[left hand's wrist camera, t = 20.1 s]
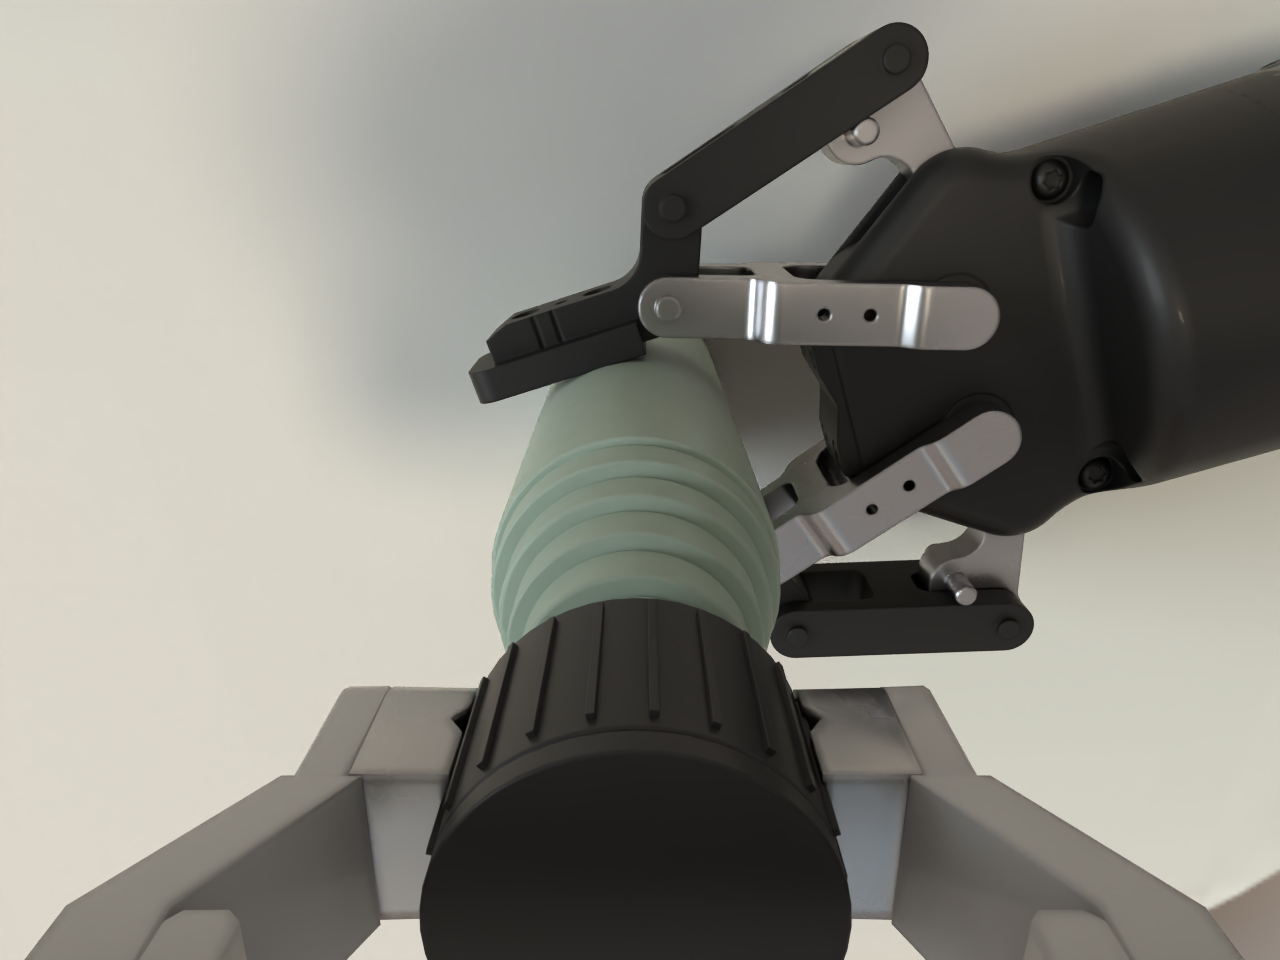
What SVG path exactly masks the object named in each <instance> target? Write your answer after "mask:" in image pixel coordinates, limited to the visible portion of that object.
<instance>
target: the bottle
mask: <svg viewBox="0 0 1280 960" xmlns="http://www.w3.org/2000/svg"><path fill="white" fill-rule="evenodd" d="M780 595H781V594H780V553H779V547H778V541H777V537H776V533H775V530H774V527H773V524H772V521H771V518H770V515H769V513H768V510H767V507H766V505H765V502H764V499H763V497H762V494H761V491H760V488H759V486H758V483H757V480H756V478H755V475H754V472H753V469H752V467H751V464H750V461H749V459H748V456H747V453H746V450H745V448H744V445H743V442H742V440H741V437H740V434H739V431H738V429H737V426H736V423H735V421H734V418H733V415H732V413H731V410H730V407H729V404H728V402H727V399H726V396H725V394H724V391H723V388H722V385H721V383H720V380H719V377H718V375H717V372H716V369H715V366H714V364H713V361H712V358H711V356H710V353H709V351H708V349H707V347H706V345H705V343H704V341H703V340H702V339H694V338H662V337H658V338H655V339H652V340H649V341H646V355H643V356H640V357H637V358H633V359H630V360H627V361H624V362H621V363H617V364H614V365H609V366H605V367H602V368H599V369H596V370H593V371H591V372H589V373H586V374H582V375H579V376H576V377H573V378H570V379H566V380H563V381H560V382H557V383H554V384H551V387H550V389H549V392H548V395H547V397H546V400H545V403H544V405H543V408H542V411H541V413H540V416H539V419H538V421H537V424H536V427H535V430H534V432H533V435H532V438H531V440H530V443H529V446H528V448H527V451H526V454H525V456H524V459H523V462H522V464H521V467H520V470H519V473H518V475H517V478H516V481H515V483H514V486H513V489H512V491H511V494H510V497H509V499H508V502H507V505H506V507H505V510H504V513H503V515H502V518H501V521H500V524H499V527H498V530H497V533H496V537H495V541H494V547H493V554H492V592H491V596H492V604H493V611H494V615H495V619H496V622H497V626H498V629H499V631H500V634H501V638H502V641H503V645H504V648H505V652H507V649H508V646H509V645H510V644H511V643H512V642H514V643H516V642H517V641H518V640H519V639H521V638H522V637H523V636H524V635H525V634H527V633H528V632H529V631H531V630H532V629H534V628H535V627H537V626H539V625H540V624H542V623H543V622H545V621H547V620H548V619H549V618H551V617H553V616H557V615H559V614H561V613H564V612H566V611H568V610H571V609H574V608H577V607H580V606H583V605H587V604H590V603H595V602H600V601H605V600H611V599H623V598H650V599H661V600H667V601H673V602H679V603H683V604H686V605H689V606H693V607H696V608H700V609H702V610H705V611H707V612H709V613H712V614H714V615H716V616H719V617H721V618H723V619H724V620H726V621H728V622H729V623H731V624H733V625H734V626H736V627H738V628H740V629H741V630H742V631H743V630H745V631H746V632H748V633H749V634H750V637H751V638H753V639H754V640H755V641H756V642H758V644H759V645H760V646H761V647H762V648H763V649H764V650H765V651H767V648H768V644H769V641H770V637H771V633H772V631H773V629H774V625H775V622H776V618H777V615H778V610H779V603H780Z"/></svg>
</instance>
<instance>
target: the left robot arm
mask: <svg viewBox="0 0 1280 960" xmlns="http://www.w3.org/2000/svg"><path fill="white" fill-rule="evenodd" d="M477 691H478V688H435V687H393V688H391V687H389V686H361V687H349V688H346V689H344V690H343V691H342V692H341V694H340V695H339V697H338V699H337V701H336V702H335V704H334V706H333V708H332V710H331V711H330V713H329V715H328V717H327V719H326V720H325V722H324V724H323V726H322V727H321V729H320V731H319V733H318V735H317V736H316V738H315V740H314V742H313V744H312V745H311V747H310V749H309V751H308V752H307V754H306V756H305V758H304V760H303V761H302V763H301V765H300V767H299V769H298V770H297V772H296V774H295V776H280V777H278V778H277V779H275V780H273V781H272V782H270V783H268V784H267V785H265V786H263V787H262V788H260V789H258V790H257V791H255V792H253V793H252V794H250V795H248V796H247V797H245V798H243V799H242V800H240V801H239V802H237V803H235V804H234V805H232V806H230V807H229V808H227V809H225V810H224V811H222V812H220V813H219V814H217V815H215V816H214V817H212V818H210V819H209V820H207V821H205V822H204V823H202V824H200V825H199V826H197V827H196V828H194V829H192V830H191V831H189V832H187V833H186V834H184V835H182V836H181V837H179V838H177V839H176V840H174V841H172V842H171V843H169V844H167V845H166V846H164V847H162V848H161V849H159V850H157V851H156V852H154V853H153V854H151V855H149V856H148V857H146V858H144V859H143V860H141V861H139V862H138V863H136V864H134V865H133V866H131V867H129V868H128V869H126V870H124V871H123V872H121V873H119V874H118V875H116V876H114V877H113V878H111V879H110V880H108V881H106V882H105V883H103V884H101V885H100V886H98V887H96V888H95V889H93V890H91V891H90V892H88V893H86V894H85V895H83V896H81V897H80V898H78V899H76V900H75V901H73V902H72V903H70V904H68V905H67V906H65V908H64V909H63V910H62V912H61V913H60V914H59V916H58V917H57V918H56V919H55V921H54V922H53V923H52V925H51V926H50V927H49V929H48V930H47V931H46V932H45V934H44V935H43V936H42V938H41V939H40V940H39V942H38V943H37V944H36V945H35V947H34V948H33V949H32V951H31V952H30V953H29V955H28V956H27V957H26V959H25V960H347V959H348V958H349V957H350V956H351V955H352V953H353V952H354V951H355V950H356V949H357V948H358V947H359V946H360V945H361V944H362V943H363V942H364V941H365V940H366V939H367V938H368V937H369V936H370V935H371V934H372V933H373V932H374V931H375V930H376V929H377V928H378V926H379V925H380V920H390V919H420V914H419V907H420V899H421V892H422V886H423V882H424V879H425V876H426V872H427V869H428V866H429V862H430V859H431V855H426V849H427V845H428V842H429V839H430V836H431V832H432V829H433V826H434V823H435V819H436V816H437V813H438V810H439V806H440V803H444V800H445V797H446V793H447V790H448V787H449V783H450V780H451V777H452V774H453V770H454V767H455V764H456V760H457V757H458V754H459V750H460V747H461V744H462V741H463V737H464V734H465V731H466V727H467V724H468V721H469V717H470V714H471V711H472V708H473V704H474V701H475V698H476V694H477ZM793 695H794V698H795V701H798V705H799V708H800V712H801V716H802V717H804V718H806V719H807V721H808V724H809V727H810V731H811V732H810V742H809V743H810V747H811V750H812V753H813V757H814V760H815V763H816V767H817V770H818V773H819V777H820V780H821V783H822V785H827V788H828V791H829V795H830V798H831V801H832V805H833V808H834V812H835V815H836V818H837V822H838V825H839V828H840V832H841V835H839V836H836V837H837V841H838V844H839V847H840V851H841V854H842V858H843V861H844V865H845V868H846V872H847V875H848V886H849V892H850V898H851V904H852V919H882V920H892V925H893V926H894V927H895V928H896V929H897V930H898V931H899V932H900V933H901V934H902V935H903V936H904V937H905V938H906V939H907V940H908V941H909V942H910V944H911V945H912V946H913V947H914V948H915V949H916V950H917V951H918V952H919V953H920V954H921V955H922V956H923V957H924V958H925V959H926V960H1244V958H1243V957H1242V956H1241V954H1240V953H1239V952H1238V950H1237V949H1236V948H1235V946H1234V945H1233V944H1232V942H1231V941H1230V940H1229V938H1228V937H1227V936H1226V934H1225V933H1224V932H1223V930H1222V929H1221V928H1220V926H1219V925H1218V924H1217V922H1216V921H1215V919H1214V918H1213V917H1212V915H1211V914H1210V913H1209V911H1208V910H1207V909H1206V907H1204V906H1202V905H1201V904H1199V903H1197V902H1196V901H1194V900H1193V899H1191V898H1189V897H1188V896H1186V895H1184V894H1183V893H1181V892H1179V891H1178V890H1176V889H1175V888H1173V887H1171V886H1170V885H1168V884H1166V883H1165V882H1163V881H1162V880H1160V879H1158V878H1157V877H1155V876H1153V875H1152V874H1150V873H1148V872H1147V871H1145V870H1144V869H1142V868H1140V867H1139V866H1137V865H1135V864H1134V863H1132V862H1131V861H1129V860H1127V859H1126V858H1124V857H1122V856H1121V855H1119V854H1117V853H1116V852H1114V851H1113V850H1111V849H1109V848H1108V847H1106V846H1104V845H1103V844H1101V843H1100V842H1098V841H1096V840H1095V839H1093V838H1091V837H1090V836H1088V835H1086V834H1085V833H1083V832H1082V831H1080V830H1078V829H1077V828H1075V827H1073V826H1072V825H1070V824H1068V823H1067V822H1065V821H1064V820H1062V819H1060V818H1059V817H1057V816H1055V815H1054V814H1052V813H1051V812H1049V811H1047V810H1046V809H1044V808H1042V807H1041V806H1039V805H1037V804H1036V803H1034V802H1033V801H1031V800H1029V799H1028V798H1026V797H1024V796H1023V795H1021V794H1020V793H1018V792H1016V791H1015V790H1013V789H1011V788H1010V787H1008V786H1006V785H1005V784H1003V783H1002V782H1000V781H998V780H997V779H995V778H993V777H992V776H977V775H976V773H975V771H974V769H973V767H972V765H971V764H970V762H969V760H968V758H967V756H966V755H965V753H964V751H963V749H962V747H961V746H960V744H959V742H958V740H957V738H956V737H955V735H954V733H953V731H952V729H951V727H950V726H949V724H948V722H947V720H946V718H945V717H944V715H943V713H942V711H941V709H940V708H939V706H938V704H937V702H936V700H935V699H934V697H933V695H932V693H931V691H930V690H929V689H927V688H926V687H924V686H903V687H880V688H851V689H805V690H793Z"/></svg>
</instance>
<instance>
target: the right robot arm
mask: <svg viewBox="0 0 1280 960" xmlns="http://www.w3.org/2000/svg"><path fill="white" fill-rule="evenodd" d="M928 59H929V52H928V46H927V43H926V40H925V38H924V36H923V35H922V34H921V32H920V31H919V30H918V29H917V28H915V27H914V26H912V25H910V24H907V23H902V22H895V23H890V24H887V25H885V26H883V27H881V28H879V29H877V30H875V31H873V32H871V33H870V34H868V35H866V36H864V37H862V38H860V39H858V40H856V41H854V42H853V43H851V44H849V45H848V46H846V47H845V48H843V49H842V50H841V51H839V52H838V53H836V54H835V55H833V56H832V57H830V58H829V59H827V60H826V61H824V62H823V63H821V64H820V65H819V66H817V67H816V68H814V69H813V70H811V71H810V72H808V73H807V74H805V75H804V76H802V77H801V78H799V79H798V80H797V81H795V82H794V83H792V84H791V85H789V86H788V87H786V88H785V89H783V90H782V91H780V92H779V93H777V94H776V95H775V96H773V97H772V98H770V99H769V100H767V101H766V102H764V103H763V104H761V105H760V106H758V107H757V108H755V109H754V110H753V111H751V112H750V113H748V114H747V115H745V116H744V117H742V118H741V119H739V120H738V121H736V122H735V123H733V124H732V125H730V126H729V127H728V128H726V129H725V130H723V131H722V132H720V133H719V134H717V135H716V136H714V137H713V138H711V139H710V140H708V141H707V142H706V143H704V144H703V145H701V146H700V147H698V148H697V149H695V150H694V151H692V152H691V153H689V154H688V155H686V156H685V157H684V158H682V159H681V160H679V161H678V162H676V163H675V164H673V165H672V166H670V167H669V168H667V169H666V170H664V171H663V172H662V173H660V174H659V175H657V176H656V177H654V178H653V179H652V180H651V181H650V182H649V183H648V184H647V186H646V188H645V190H644V192H643V196H642V213H641V238H640V252H639V256H638V259H637V261H636V264H635V265H634V267H633V268H632V269H631V271H630V272H629V273H628V274H626V275H625V276H624V277H622V278H620V279H618V280H616V281H613V282H610V283H607V284H604V285H601V286H598V287H595V288H592V289H588V290H585V291H582V292H579V293H576V294H573V295H570V296H567V297H564V298H561V299H558V300H554V301H551V302H548V303H545V304H542V305H540V306H536V307H533V308H530V309H527V310H524V311H521V312H517V313H515V314H513V315H512V316H511V317H510V318H509V319H508V320H506V321H505V322H504V323H503V324H502V325H501V326H499V327H498V328H497V329H496V330H495V331H494V333H493V334H492V335H491V336H490V337H489V339H488V340H487V341H486V342H487V345H488V347H489V350H490V353H488V354H486V355H484V356H482V357H481V358H479V359H478V361H477V362H476V363H475V364H474V366H473V367H472V368H471V370H470V371H469V375H470V377H471V380H472V383H473V385H474V388H475V390H476V393H477V395H478V398H479V400H480V403H482V404H487V403H492V402H496V401H499V400H503V399H506V398H509V397H512V396H515V395H518V394H522V393H525V392H528V391H531V390H534V389H538V388H541V387H544V386H547V385H550V384H554V383H557V382H560V381H563V380H566V379H570V378H573V377H576V376H579V375H582V374H586V373H589V372H591V371H593V370H596V369H599V368H602V367H605V366H609V365H614V364H617V363H621V362H624V361H627V360H630V359H633V358H637V357H640V356H643V355H646V341H649V340H652V339H655V338H658V337H662V338H694V339H747V340H754V341H757V342H761V343H766V344H775V345H800V346H801V350H802V354H803V356H804V358H805V359H806V361H807V363H808V364H809V366H810V368H811V370H812V371H813V373H814V375H815V376H816V378H817V380H818V382H819V384H820V409H819V419H820V423H821V427H822V431H823V435H824V438H825V439H824V440H822V441H821V442H819V443H818V444H816V445H815V446H813V447H812V448H810V449H809V450H807V451H806V452H804V453H802V454H801V455H799V456H798V457H797V458H795V459H794V460H793V461H792V462H791V463H790V464H789V465H788V466H787V467H786V469H785V471H784V473H783V474H782V475H781V476H780V477H779V478H778V479H777V480H775V481H774V482H772V483H771V484H769V485H768V486H766V487H765V488H763V489H762V490H760V491H761V494H762V497H763V499H764V502H765V505H766V507H767V510H768V513H769V515H770V518H771V521H772V524H773V527H774V530H775V533H776V537H777V541H778V547H779V553H780V594H781V595H780V603H779V610H778V615H777V618H776V622H775V625H774V629H773V631H772V633H771V637H770V639H771V642H772V645H773V647H774V648H775V649H776V651H778V652H779V653H780V654H782V655H784V656H787V657H791V658H805V657H832V656H860V655H888V654H916V653H943V652H971V651H999V650H1010V649H1014V648H1016V647H1018V646H1020V645H1022V644H1023V643H1024V642H1025V641H1026V640H1027V639H1028V638H1029V637H1030V635H1031V633H1032V631H1033V627H1034V620H1033V617H1032V615H1031V613H1030V612H1029V610H1028V609H1027V608H1026V607H1025V606H1024V605H1023V603H1022V602H1021V600H1020V599H1019V597H1018V584H1019V576H1020V567H1021V559H1022V550H1023V541H1024V533H1027V532H1030V531H1032V530H1034V529H1036V528H1038V527H1039V526H1041V525H1042V524H1044V523H1045V522H1046V521H1047V520H1049V519H1050V518H1051V517H1052V516H1053V515H1054V514H1056V513H1057V512H1058V511H1059V510H1061V509H1062V508H1063V507H1065V506H1066V505H1068V504H1070V503H1071V502H1073V501H1075V500H1077V499H1078V498H1080V497H1083V496H1085V495H1088V494H1092V493H1097V492H1103V491H1110V490H1118V489H1127V488H1135V487H1142V486H1147V485H1152V484H1156V483H1160V482H1163V481H1167V480H1170V479H1174V478H1177V477H1181V476H1185V475H1188V474H1192V473H1195V472H1199V471H1202V470H1206V469H1210V468H1213V467H1217V466H1220V465H1224V464H1227V463H1231V462H1235V461H1238V460H1242V459H1245V458H1249V457H1252V456H1256V455H1260V454H1263V453H1267V452H1270V451H1274V450H1277V449H1280V60H1277V61H1275V62H1272V63H1270V64H1268V65H1266V66H1264V67H1262V68H1261V69H1260V71H1258V72H1256V73H1253V74H1250V75H1247V76H1244V77H1241V78H1238V79H1234V80H1231V81H1228V82H1225V83H1222V84H1219V85H1216V86H1213V87H1210V88H1207V89H1204V90H1201V91H1198V92H1195V93H1191V94H1188V95H1185V96H1182V97H1179V98H1176V99H1173V100H1170V101H1167V102H1164V103H1161V104H1157V105H1154V106H1151V107H1148V108H1145V109H1142V110H1139V111H1136V112H1133V113H1130V114H1127V115H1124V116H1121V117H1117V118H1114V119H1111V120H1108V121H1105V122H1102V123H1099V124H1096V125H1093V126H1090V127H1087V128H1084V129H1081V130H1077V131H1074V132H1071V133H1068V134H1065V135H1062V136H1059V137H1056V138H1053V139H1050V140H1047V141H1044V142H1041V143H1037V144H1034V145H1031V146H1028V147H1025V148H1022V149H1019V150H1014V151H1010V152H1005V153H995V152H990V151H986V150H982V149H978V148H972V147H959V148H955V147H954V145H953V143H952V141H951V139H950V137H949V135H948V133H947V131H946V129H945V127H944V125H943V123H942V121H941V119H940V117H939V115H938V113H937V111H936V109H935V107H934V105H933V103H932V101H931V99H930V97H929V94H928V92H927V90H926V88H925V86H924V84H923V82H922V80H921V78H922V77H923V75H924V73H925V71H926V68H927V65H928ZM820 149H821V150H822V151H823V153H824V154H825V155H826V157H827V158H829V159H830V160H831V161H833V162H835V163H838V164H845V165H861V164H865V163H867V162H869V161H872V160H874V159H876V158H880V157H882V158H885V159H888V160H890V161H891V162H892V163H894V164H895V166H896V167H897V168H898V169H899V171H900V173H899V174H898V175H897V176H896V178H895V179H894V180H893V181H892V183H891V184H890V185H889V186H888V188H887V189H886V190H885V191H884V193H883V194H882V195H881V196H880V198H879V199H878V200H877V202H876V203H875V204H874V205H873V207H872V208H871V209H870V210H869V212H868V213H867V214H866V215H865V217H864V218H863V219H862V220H861V222H860V223H859V224H858V226H857V227H856V228H855V229H854V231H853V232H852V233H851V234H850V236H849V237H848V238H847V239H846V241H845V242H844V243H843V244H842V246H841V247H840V248H839V249H838V251H837V252H836V253H835V255H834V256H833V257H832V258H831V260H830V261H829V262H828V263H790V262H750V263H744V264H699V263H700V247H701V231H702V227H703V226H705V225H706V224H708V223H709V222H711V221H712V220H714V219H715V218H717V217H718V216H720V215H721V214H723V213H725V212H726V211H728V210H729V209H731V208H732V207H734V206H735V205H737V204H738V203H740V202H741V201H743V200H744V199H746V198H747V197H749V196H750V195H752V194H753V193H755V192H756V191H758V190H759V189H761V188H762V187H764V186H765V185H767V184H768V183H770V182H771V181H773V180H774V179H776V178H777V177H779V176H780V175H782V174H784V173H785V172H787V171H788V170H790V169H791V168H793V167H794V166H796V165H797V164H799V163H800V162H802V161H803V160H805V159H806V158H808V157H809V156H811V155H812V154H814V153H815V152H817V151H818V150H820ZM868 505H869V506H868ZM917 511H919V512H922V513H925V514H928V515H932V516H935V517H938V518H941V519H944V520H947V521H951V522H954V523H957V524H960V525H963V526H966V527H967V529H966V530H965V532H964V533H963V534H962V535H961V536H959V537H958V538H956V539H954V540H952V541H949V542H944V543H939V544H931V545H930V546H928V547H927V548H926V550H925V553H924V554H923V555H922V557H921V559H920V560H901V561H875V562H848V563H822V564H814V563H816V562H818V561H819V560H821V559H822V558H824V557H827V556H831V555H833V556H844V555H847V554H850V553H852V552H854V551H855V550H857V549H859V548H860V547H862V546H863V545H865V544H866V543H868V542H870V541H871V540H873V539H874V538H876V537H878V536H879V535H881V534H882V533H884V532H886V531H887V530H889V529H890V528H892V527H894V526H895V525H897V524H898V523H900V522H902V521H903V520H905V519H906V518H908V517H909V516H911V515H913V514H914V513H916V512H917Z"/></svg>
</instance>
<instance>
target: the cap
mask: <svg viewBox="0 0 1280 960" xmlns="http://www.w3.org/2000/svg"><path fill="white" fill-rule="evenodd" d="M810 732H811V731H810V727H809V724H808V721H807V719H806V718H804V717H802V716H801V712H800V708H799V705H798V701H795V698H794V695H793V692H792V689H791V687H790V685H789V683H788V681H787V680H786V676H785V673H784V669H783V666H782V665H781V664H780V662H777V663H776V662H775V661H774V660H773V658H772V657H771V656H770V655H769V654H768V653H767V652H766V651H765V650H764V649H763V648H762V647H761V646H760V645H759V644H758V642H756V641H755V640H754V639H753V638H751V637H750V634H749V633H748V632H746V631H745V630H743V631H742V630H741V629H740V628H738V627H736V626H734V625H733V624H731V623H729V622H728V621H726V620H724V619H723V618H721V617H719V616H716V615H714V614H712V613H709V612H707V611H705V610H702V609H700V608H696V607H693V606H689V605H686V604H683V603H679V602H673V601H667V600H661V599H650V598H623V599H611V600H605V601H600V602H595V603H590V604H587V605H583V606H580V607H577V608H574V609H571V610H568V611H566V612H564V613H561V614H559V615H557V616H553V617H551V618H549V619H548V620H547V621H545V622H543V623H542V624H540V625H539V626H537V627H535V628H534V629H532V630H531V631H529V632H528V633H527V634H525V635H524V636H523V637H522V638H521V639H519V640H518V641H517V642H516V643H514V642H512V643H511V644H510V645H509V646H508V649H507V652H506V653H505V654H504V655H503V656H502V657H501V658H500V659H499V661H498V662H497V664H496V665H495V667H494V668H493V670H492V671H491V673H490V674H489V675H488V678H486V677H483V678H482V680H481V681H480V684H479V688H478V691H477V694H476V698H475V701H474V704H473V708H472V711H471V714H470V717H469V721H468V724H467V727H466V731H465V734H464V737H463V741H462V744H461V747H460V750H459V754H458V757H457V760H456V764H455V767H454V770H453V774H452V777H451V780H450V783H449V787H448V790H447V793H446V797H445V800H444V803H440V806H439V810H438V813H437V816H436V819H435V823H434V826H433V829H432V832H431V836H430V839H429V842H428V845H427V849H426V855H431V859H430V862H429V866H428V869H427V872H426V876H425V879H424V882H423V886H422V892H421V899H420V907H419V914H420V932H421V937H422V941H423V946H424V951H425V955H426V957H427V960H844V958H845V955H846V952H847V949H848V943H849V938H850V932H851V922H852V904H851V898H850V892H849V886H848V875H847V872H846V868H845V865H844V861H843V858H842V854H841V851H840V847H839V844H838V841H837V837H836V836H839V835H841V832H840V828H839V825H838V822H837V818H836V815H835V812H834V808H833V805H832V801H831V798H830V795H829V791H828V788H827V785H822V783H821V780H820V777H819V773H818V770H817V767H816V763H815V760H814V757H813V753H812V750H811V747H810V743H809V742H810Z"/></svg>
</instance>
